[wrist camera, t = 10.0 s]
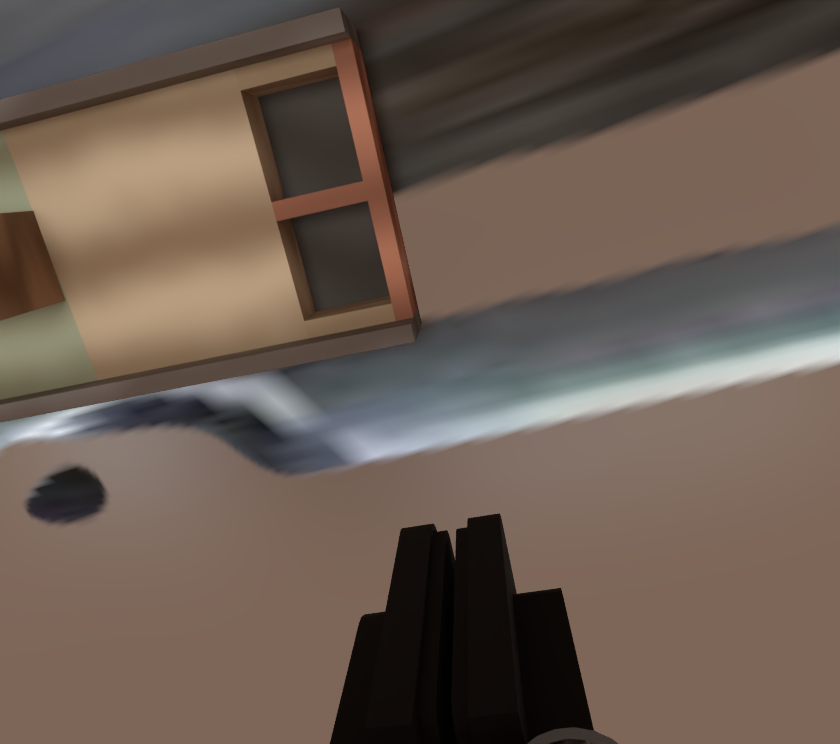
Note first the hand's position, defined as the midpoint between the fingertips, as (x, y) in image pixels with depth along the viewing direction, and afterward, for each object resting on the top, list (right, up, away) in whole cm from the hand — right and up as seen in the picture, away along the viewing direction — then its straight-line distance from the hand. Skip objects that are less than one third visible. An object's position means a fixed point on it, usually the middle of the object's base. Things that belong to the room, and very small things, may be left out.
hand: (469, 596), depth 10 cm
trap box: (-16, +12, +26) cm, 33 cm away
